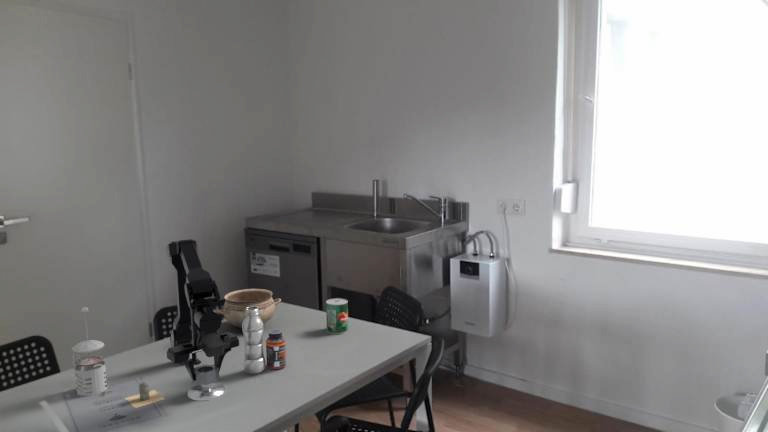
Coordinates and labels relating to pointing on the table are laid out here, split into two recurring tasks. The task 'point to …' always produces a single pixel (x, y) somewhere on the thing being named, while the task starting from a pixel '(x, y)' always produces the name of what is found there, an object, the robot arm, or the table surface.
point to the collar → (206, 374)
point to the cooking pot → (248, 305)
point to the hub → (206, 391)
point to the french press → (89, 367)
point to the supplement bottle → (275, 350)
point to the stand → (144, 396)
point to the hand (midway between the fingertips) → (205, 376)
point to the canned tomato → (337, 315)
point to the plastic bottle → (253, 341)
